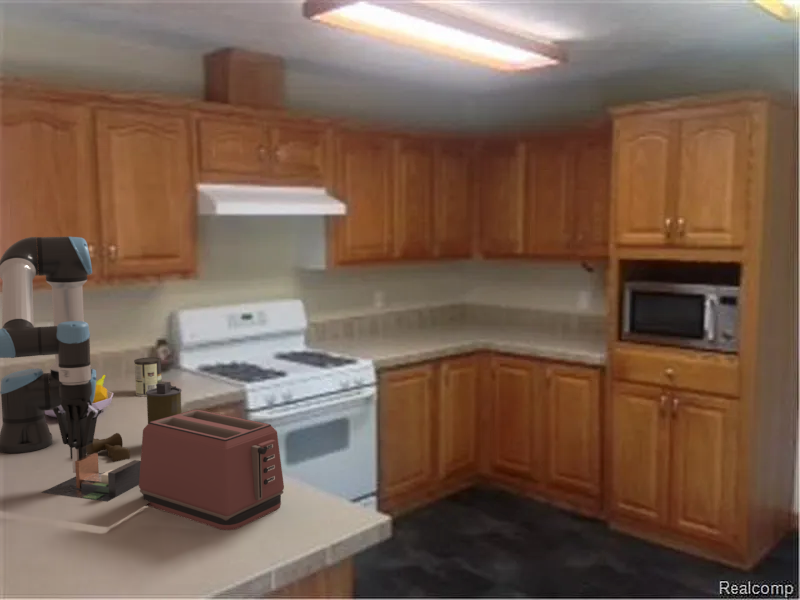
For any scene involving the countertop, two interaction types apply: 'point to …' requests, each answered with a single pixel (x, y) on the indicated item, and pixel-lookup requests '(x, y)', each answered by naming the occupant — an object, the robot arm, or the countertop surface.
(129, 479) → the grey slider puzzle board
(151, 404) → the canister
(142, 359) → the coffee can
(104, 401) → the fruit bowl
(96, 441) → the kendama
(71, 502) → the countertop surface
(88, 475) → the two-tone wooden block
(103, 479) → the cream cube block
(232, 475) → the toaster
